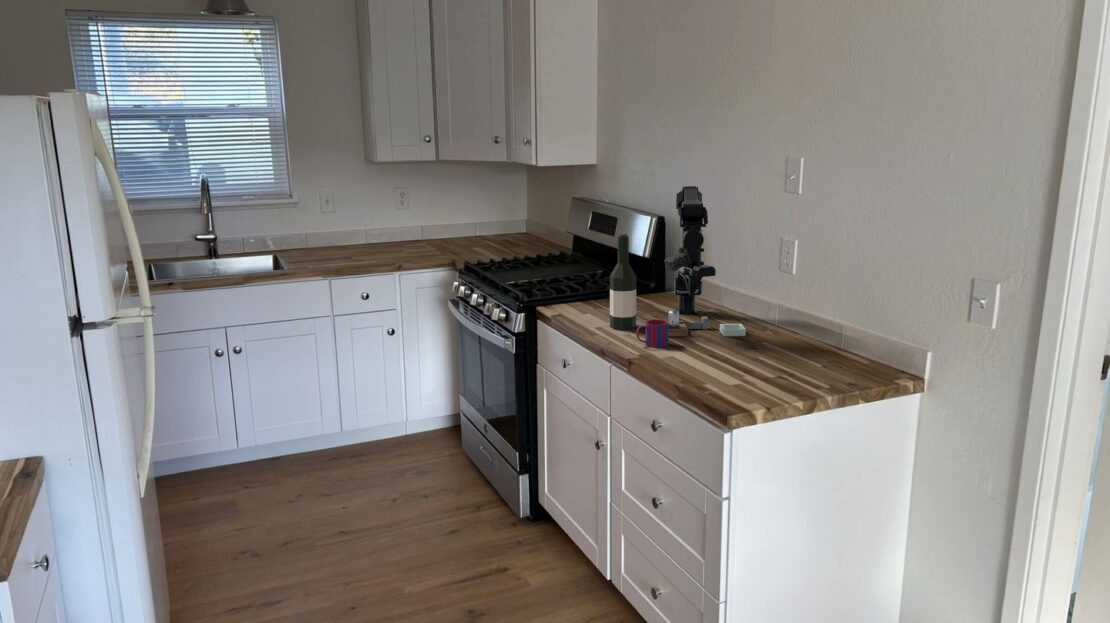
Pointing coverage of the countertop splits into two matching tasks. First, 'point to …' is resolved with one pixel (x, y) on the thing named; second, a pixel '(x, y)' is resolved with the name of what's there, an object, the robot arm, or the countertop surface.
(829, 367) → the countertop surface
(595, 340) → the countertop surface
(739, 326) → the tray
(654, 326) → the mug
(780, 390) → the countertop surface
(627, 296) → the wine bottle
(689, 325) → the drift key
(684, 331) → the socket block
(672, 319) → the polished steel rod
